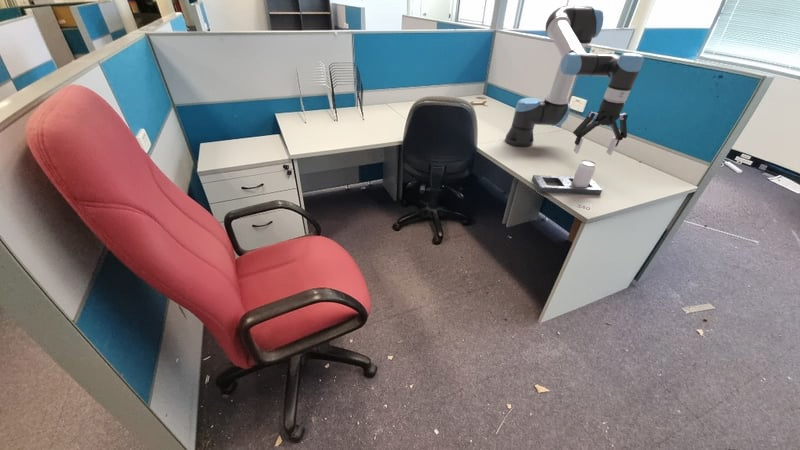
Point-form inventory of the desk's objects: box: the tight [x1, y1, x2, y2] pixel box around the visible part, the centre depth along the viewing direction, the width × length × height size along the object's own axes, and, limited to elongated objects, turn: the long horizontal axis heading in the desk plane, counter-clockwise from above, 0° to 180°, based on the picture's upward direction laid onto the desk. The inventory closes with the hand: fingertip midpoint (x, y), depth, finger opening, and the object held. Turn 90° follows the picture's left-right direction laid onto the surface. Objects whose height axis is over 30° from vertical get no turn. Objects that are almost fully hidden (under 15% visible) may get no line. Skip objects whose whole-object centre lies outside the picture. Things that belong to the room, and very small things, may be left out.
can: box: [572, 159, 596, 187], centre depth 142 cm, size 6×6×12 cm
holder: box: [531, 174, 603, 196], centre depth 144 cm, size 11×26×2 cm, turn 88°
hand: (592, 152), depth 136 cm, fingers open, 13 cm apart
